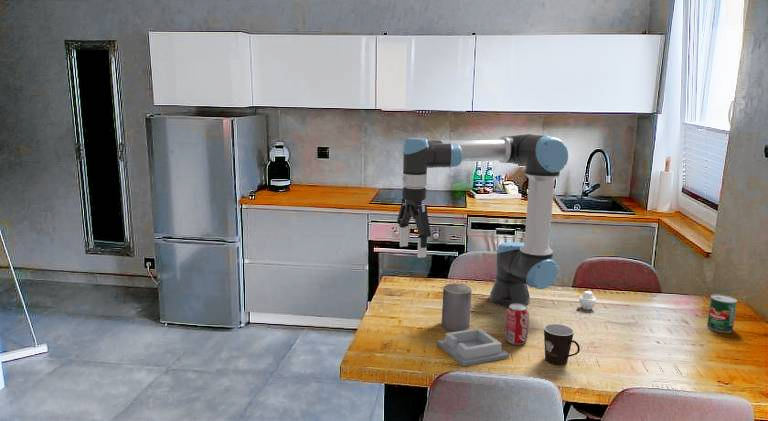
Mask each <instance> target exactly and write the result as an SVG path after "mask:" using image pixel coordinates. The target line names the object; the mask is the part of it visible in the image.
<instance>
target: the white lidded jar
mask: <svg viewBox="0 0 768 421" xmlns="http://www.w3.org/2000/svg"><path fill="white" fill-rule="evenodd" d="M578 300H579V303H580V305H581V308H582V309H583V310H585V311H590V310H592V309H593V307H594V306H595V305H596V303H597V298H596V297H595V296H594V292H592V291H590V290H584V292H583V293H582V294H581V295H580V296H579V298H578Z"/></svg>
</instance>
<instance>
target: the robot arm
mask: <svg viewBox="0 0 768 421" xmlns="http://www.w3.org/2000/svg"><path fill="white" fill-rule="evenodd" d="M402 150H403V151H402V156H403V157H402V158H403V162H402V165H403V166H402V169H403V170H402V177H401V180H402V186H403V188H402V193H401V194H402V196H401V197H402V198H401V204H400V209H399V211H398V215H397V216H398V217H397V220H396V224H398V226H399V247H400V248H402V247H409V223H410V221H411V218H412V219H413V220H414V221H415V224H416V228H417V232H418V234H419V235H417V258H419V259H420V258H427V244H428V238H430V237H432V232H431V227H430V222H429V216H428V206H427V205H426V204H424V205H423V203H422V202H423V201H425V200H426V198H427V188H426V186H427V176H428V169H429V168H430V169H431V168H432V169H433V168H450V169H451V168H455V167H459V166H460V165H461V163H462V162H485V161H487V162H488V161H489V162H490V161H491V162H492V161H498V162H499V163H501V164H514V165H519V166H523V167H525V168H524V169H525V170H524V175H525V176H526V177H527V179H528V190H527V192H528V193H527V204H526V205H527V207H526V218H525V219H526V220H525V232H524V233H525V234H524V235H525V236H524V242H521V241H519V242H518V241H507V242H502V243H499V244H498V246H497V250H496V265H495V266H496V267H495V280H494V283H493V286H492V288H491V291H490V293H489V294H490V295H489V301H490V302H492V303H493V304H496V305H497V306H501V307H506V308H507V307H508V308H509V305H510V304H514V303H518V304H523V305H526V306H529V304H530V301H531V300H530V299H531V296H530V291H529V289H528V287H530V288H534V289H537V290H545V289H547V288H549V287H550V286H552V284H553V283H555V281H556V280H557V278H558V275H559V266H558V264H557V262H556V261H555V260H553V256H554V250H553V249H552V248H551V247H550V239H551V238H550V237H551V228H552V226H551V225H552V216H553V204H554V202H553V201H554V190H555V188H554V187H555V181H556V179H557V178H559V177H560V172H561V171H562V170H563V169H564V168H565V166H567V164H568V160H569V151H568V148H567V146H566V144H565V143H564V141H562V140H561V139H559V138H558V137H553V136H551V135H541V134H540V135H539V134H531V133H530V134H529V133H528V134H518V135H506V136H505V135H504V136H500V137H499V138H496V139H494V138H493V139H447V140H445V139H443V140H442V139H441V140H428V139H427V138H424V137H407V138H405V139H404V143H403V149H402Z"/></svg>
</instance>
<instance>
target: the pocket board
mask: <svg viewBox="0 0 768 421" xmlns="http://www.w3.org/2000/svg"><path fill="white" fill-rule="evenodd" d="M444 334H445V336H444V337H445V338H444V339H441V340H440V339H439V340H437V346H438V347H440V348H441V349H443V351H444V352H446V353H447V354H448V355H449V356H450V357H452V359H454V360H455V361H456V362H457V363H459V364H460V365H461V366H462V367H468V366H474V365H479V364H484V363H489V362H494V361H498V360H504V359H509V358H510V354H509V353H508V352H507V351H505V350H504V349H502V342H500V341H499V340H498V339H496V338H494V337H493V335H491V334H489V333H487V332H486V331H485V330H483V329H482V328H480V327H476V328H471V329H469V328H468V329H465V330H463V331H451V332H447V333H444Z"/></svg>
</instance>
